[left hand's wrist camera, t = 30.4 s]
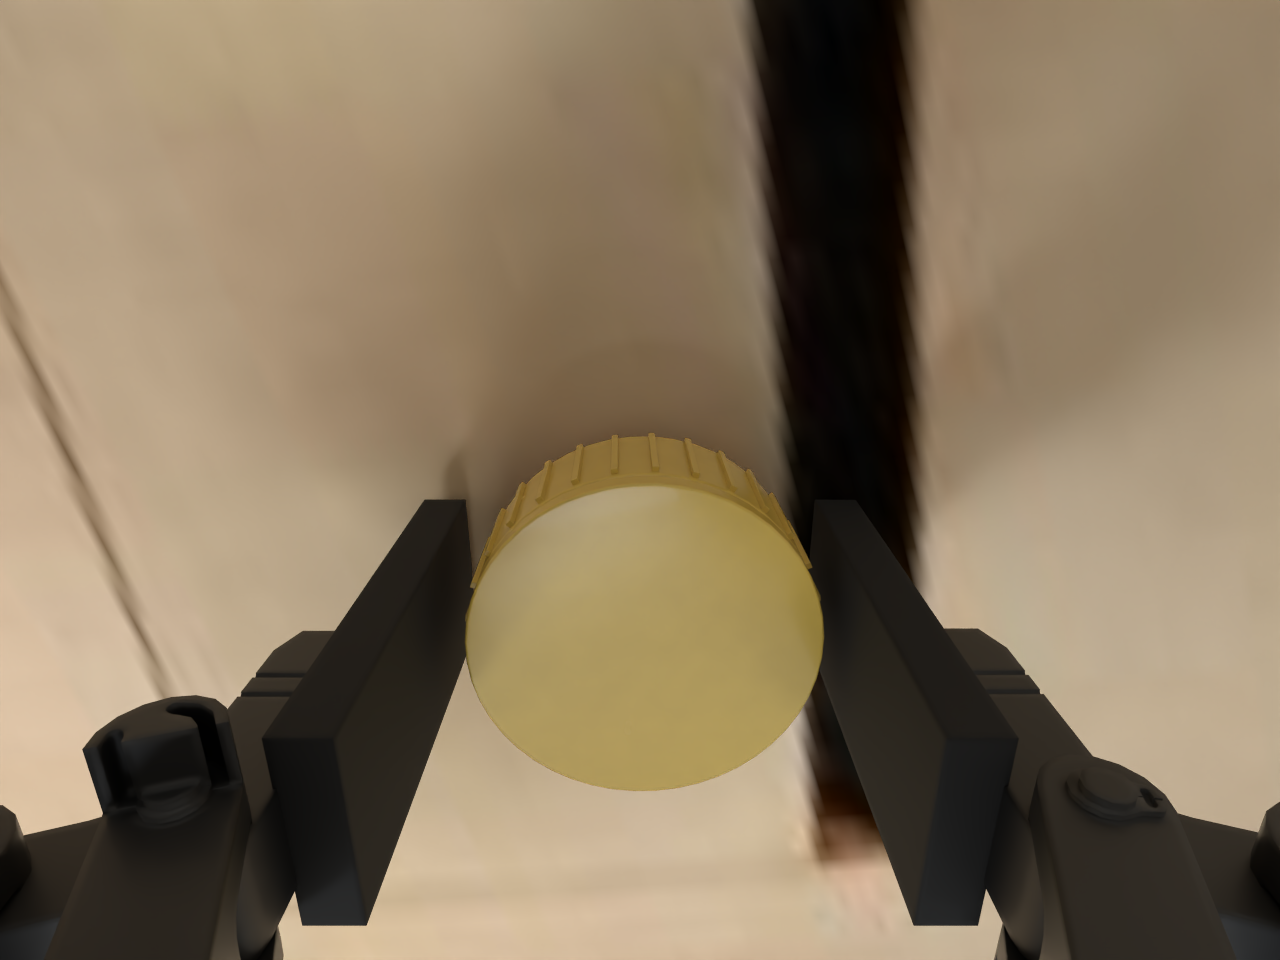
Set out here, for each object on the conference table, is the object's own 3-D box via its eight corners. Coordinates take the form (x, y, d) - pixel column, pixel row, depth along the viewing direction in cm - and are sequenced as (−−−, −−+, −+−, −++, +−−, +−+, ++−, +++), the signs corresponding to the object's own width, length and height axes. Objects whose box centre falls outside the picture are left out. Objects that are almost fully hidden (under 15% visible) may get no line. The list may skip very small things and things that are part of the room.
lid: (450, 665, 15) (421, 748, 12) (532, 386, 13) (515, 427, 10) (730, 739, 15) (748, 828, 13) (848, 486, 13) (890, 543, 11)
